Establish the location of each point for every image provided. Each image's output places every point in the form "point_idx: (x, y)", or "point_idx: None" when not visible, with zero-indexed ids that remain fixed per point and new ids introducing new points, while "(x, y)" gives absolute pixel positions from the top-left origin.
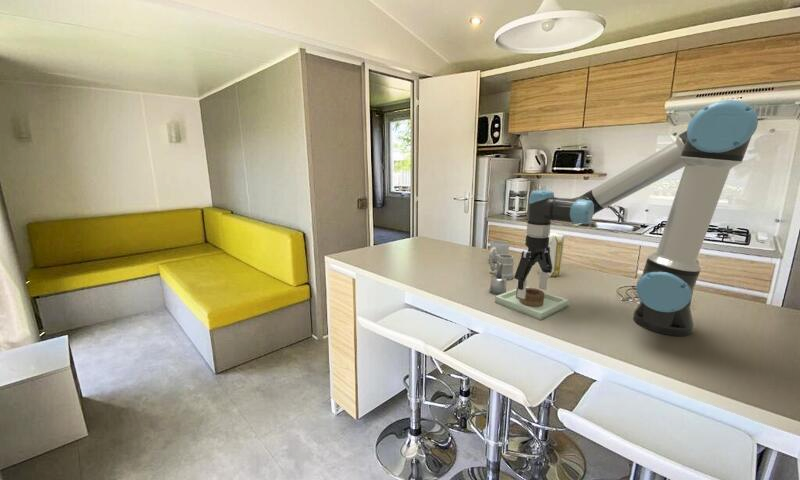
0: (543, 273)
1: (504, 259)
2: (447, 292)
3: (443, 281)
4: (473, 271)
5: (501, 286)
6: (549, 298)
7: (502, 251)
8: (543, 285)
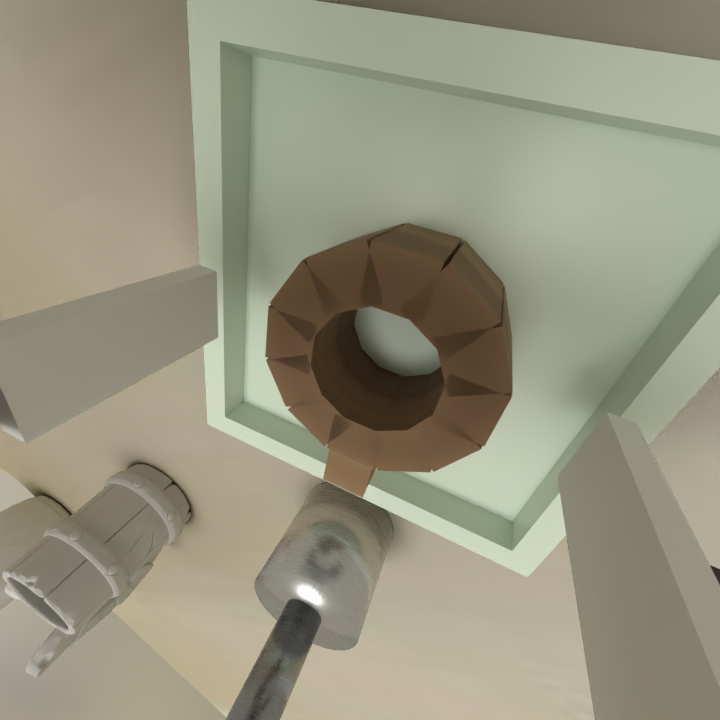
0: (27, 390)
1: (74, 605)
2: (514, 707)
3: (387, 693)
4: (207, 590)
5: (357, 557)
6: (243, 216)
7: (2, 551)
8: (183, 308)
